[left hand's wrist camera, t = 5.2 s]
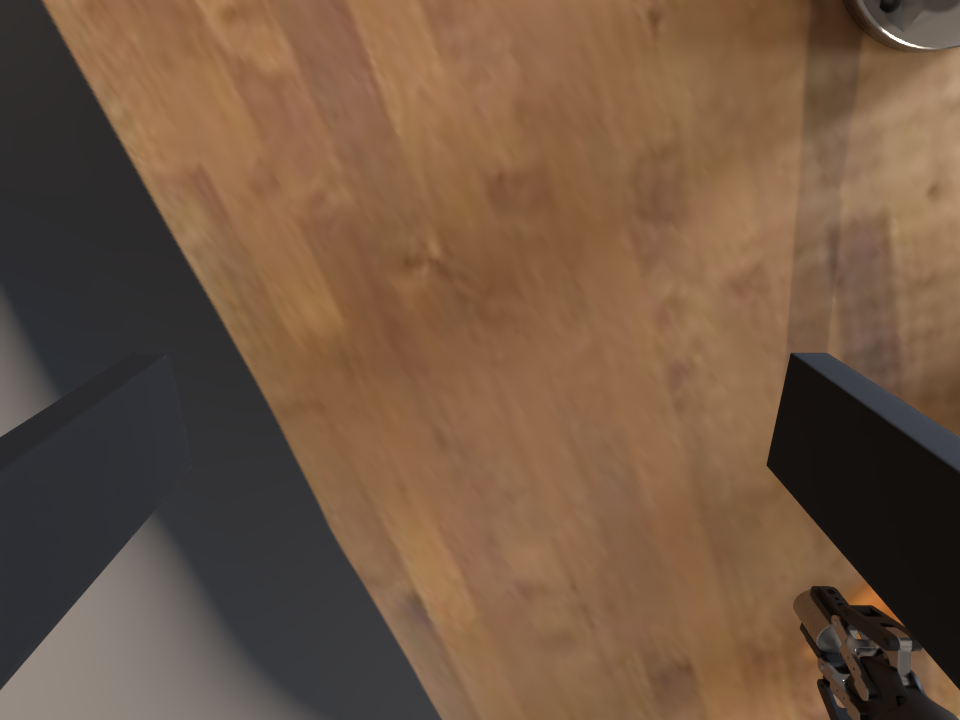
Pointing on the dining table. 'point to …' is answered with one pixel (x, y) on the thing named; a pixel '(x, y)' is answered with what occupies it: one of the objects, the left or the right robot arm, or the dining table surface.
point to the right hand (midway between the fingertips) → (815, 607)
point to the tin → (817, 624)
